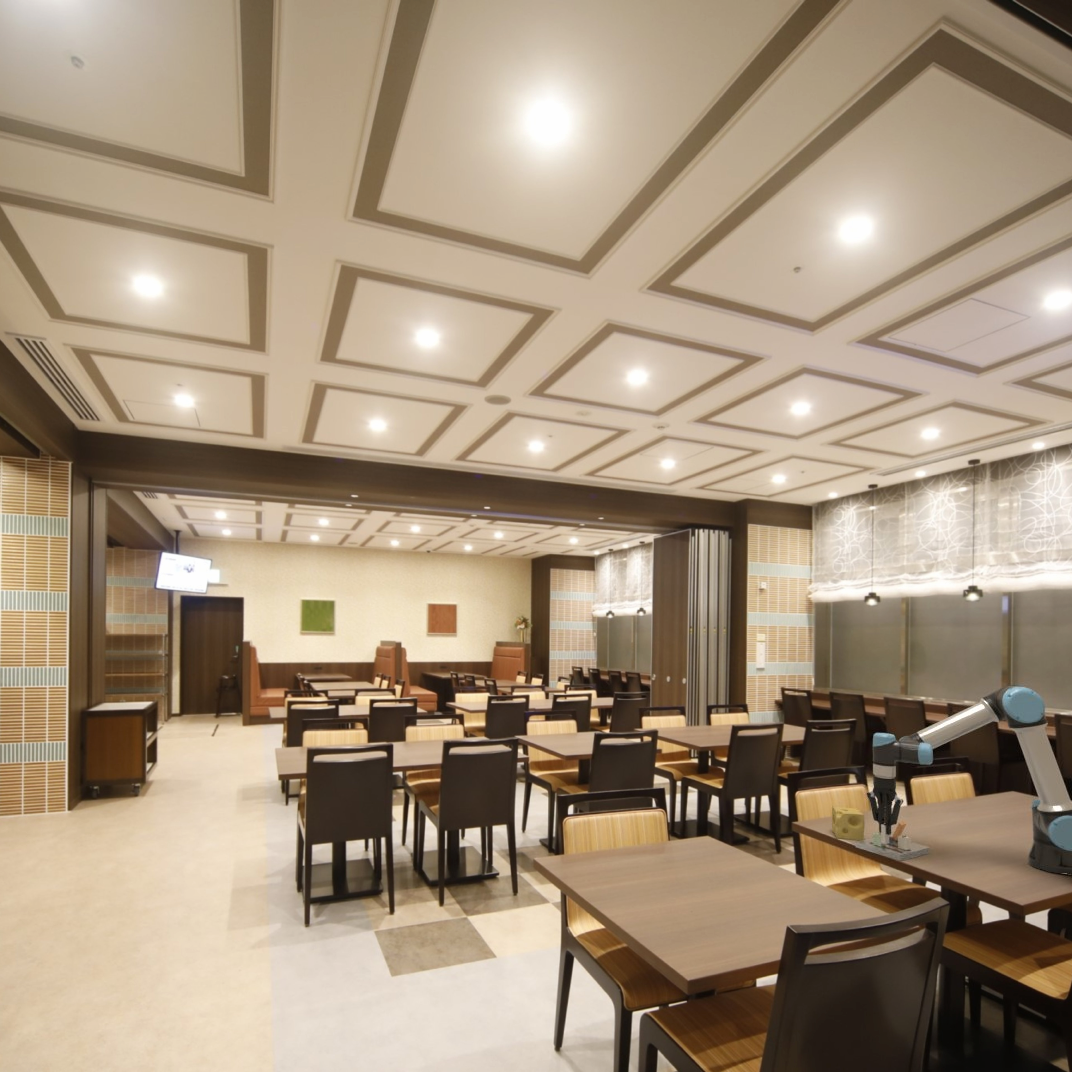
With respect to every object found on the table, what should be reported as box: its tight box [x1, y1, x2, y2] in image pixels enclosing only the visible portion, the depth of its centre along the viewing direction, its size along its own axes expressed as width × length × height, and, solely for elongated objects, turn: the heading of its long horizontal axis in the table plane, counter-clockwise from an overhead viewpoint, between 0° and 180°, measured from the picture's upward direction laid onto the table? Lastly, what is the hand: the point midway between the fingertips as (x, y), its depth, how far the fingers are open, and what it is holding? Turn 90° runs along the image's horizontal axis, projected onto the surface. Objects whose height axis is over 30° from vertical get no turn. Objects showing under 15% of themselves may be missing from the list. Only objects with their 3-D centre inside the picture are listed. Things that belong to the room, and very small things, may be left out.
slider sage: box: [872, 831, 886, 847], centre depth 256 cm, size 3×3×4 cm
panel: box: [854, 835, 931, 862], centre depth 258 cm, size 17×20×4 cm
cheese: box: [831, 806, 866, 841], centre depth 274 cm, size 10×11×10 cm
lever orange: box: [892, 821, 906, 842], centre depth 261 cm, size 1×3×8 cm, turn 122°
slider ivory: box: [898, 834, 911, 850], centre depth 253 cm, size 3×3×4 cm
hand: (885, 843), depth 254 cm, fingers closed
